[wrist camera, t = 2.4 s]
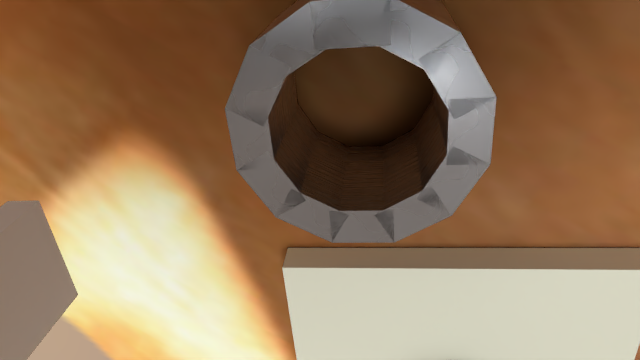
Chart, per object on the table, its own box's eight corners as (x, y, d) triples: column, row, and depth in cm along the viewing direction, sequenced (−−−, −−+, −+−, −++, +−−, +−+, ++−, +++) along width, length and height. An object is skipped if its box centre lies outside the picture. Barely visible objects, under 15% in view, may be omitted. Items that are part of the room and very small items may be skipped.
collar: (249, -16, 18) (205, 9, 14) (475, -34, 17) (506, -13, 12) (277, 175, 22) (250, 242, 17) (462, 171, 21) (483, 242, 16)
